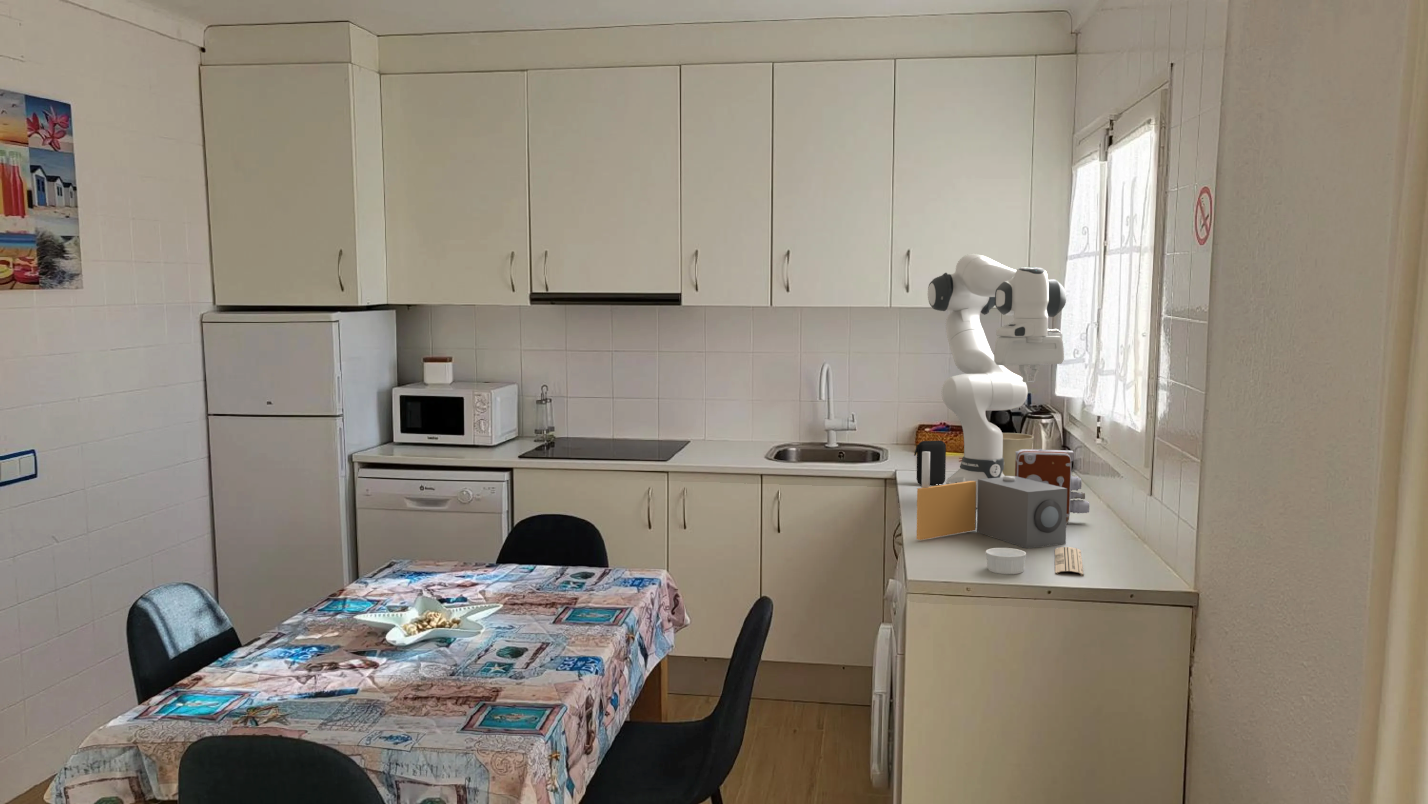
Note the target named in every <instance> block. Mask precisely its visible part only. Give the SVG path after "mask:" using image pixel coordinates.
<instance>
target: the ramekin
mask: <svg viewBox="0 0 1428 804" xmlns="http://www.w3.org/2000/svg"><path fill="white" fill-rule="evenodd" d="M985 556H986V567H987V568H986V569H987V570H988V571H990V572H991V573H995V574H999V575H1017V574H1021V573H1023V572H1024V571H1025V561H1026V557H1027V552H1026V551H1024V550H1021V549H1017V548H1011V547H1010V548H1009V547H993V548H989V549H988V548H987V549H986V550H985Z"/></svg>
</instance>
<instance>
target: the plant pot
mask: <svg viewBox="0 0 1428 804" xmlns="http://www.w3.org/2000/svg"><path fill="white" fill-rule="evenodd" d="M1002 434H1003V456H1002V457H1003V458H1004V470H1002V472H1003V474H1004V475H1005V476H1015V462H1016V451H1019V450H1021V449H1033V443H1034V435H1031V434H1026V433H1018V432H1017V433H1016V432H1002Z"/></svg>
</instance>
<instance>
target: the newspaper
mask: <svg viewBox="0 0 1428 804" xmlns="http://www.w3.org/2000/svg"><path fill="white" fill-rule="evenodd" d="M1082 559H1083V558H1082V550H1081V549H1079V548H1076V547H1071V546H1060V547H1057V548H1055V549H1054V560H1055V562H1054V563H1055V564H1054V565H1055V567H1054V568H1055V569H1054V571H1055V575H1059V573H1062V572H1071V573H1077V574H1080V576H1081V577H1084V575H1085V574H1084V566H1083V560H1082Z"/></svg>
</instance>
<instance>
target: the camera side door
mask: <svg viewBox="0 0 1428 804" xmlns="http://www.w3.org/2000/svg"><path fill="white" fill-rule="evenodd" d="M916 490H917V491H916V540H919V541H922V540H929V539H934V538H940V537H945V536H950V535H951V536H952V535H957V534H962V533H968V532H973V531H977V508H976V493H977V481H974V480H973V481H967V482H960V483H953V484H946V483H945V484H942V485H932V486H930V452H927V451H924V452H922V485H921V487H918V488H917V489H916Z"/></svg>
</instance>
